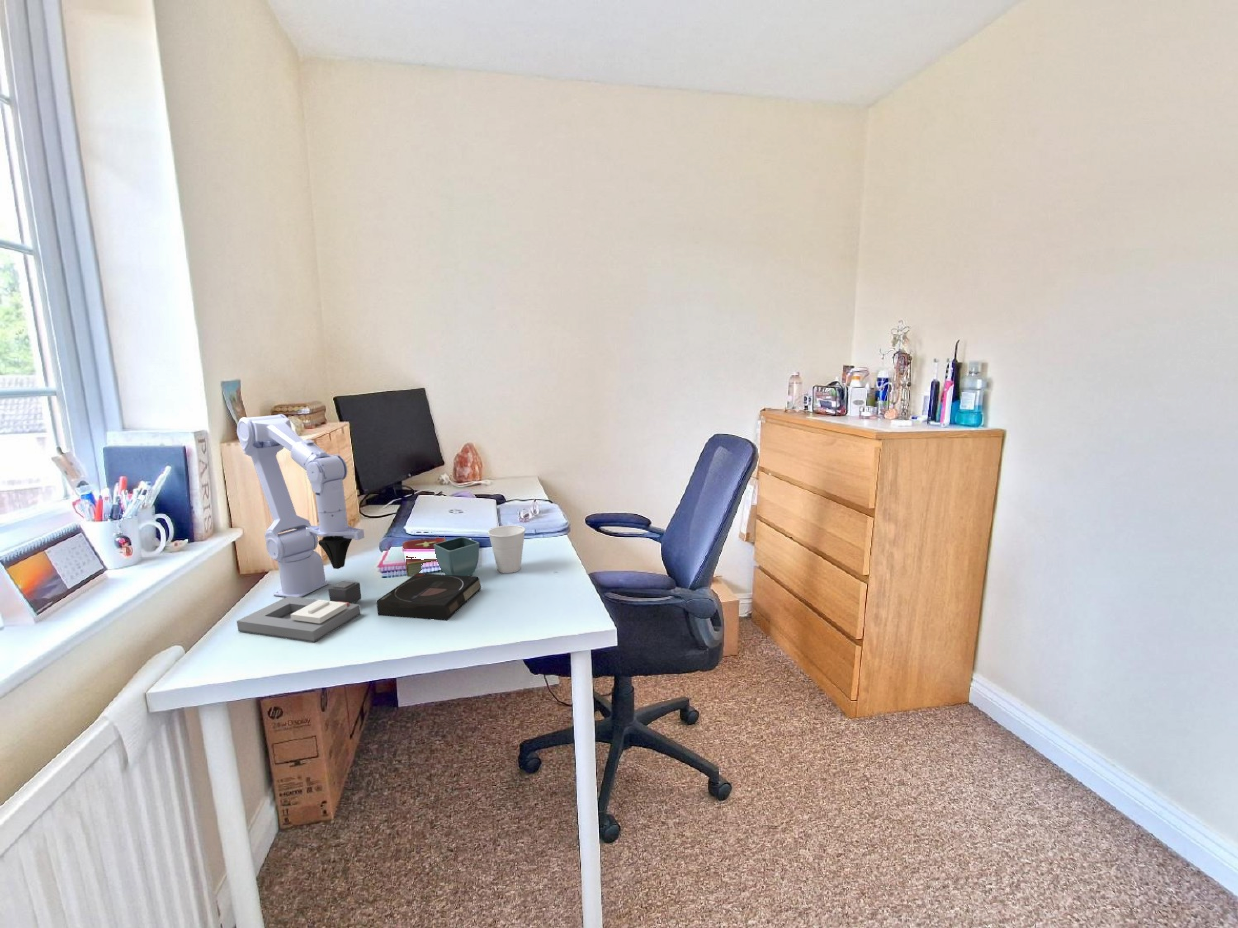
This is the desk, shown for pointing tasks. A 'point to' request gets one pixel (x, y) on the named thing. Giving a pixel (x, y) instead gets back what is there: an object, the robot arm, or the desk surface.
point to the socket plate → (279, 621)
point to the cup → (507, 547)
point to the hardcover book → (415, 564)
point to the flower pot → (457, 556)
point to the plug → (345, 592)
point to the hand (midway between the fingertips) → (338, 567)
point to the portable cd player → (429, 596)
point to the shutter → (318, 611)
